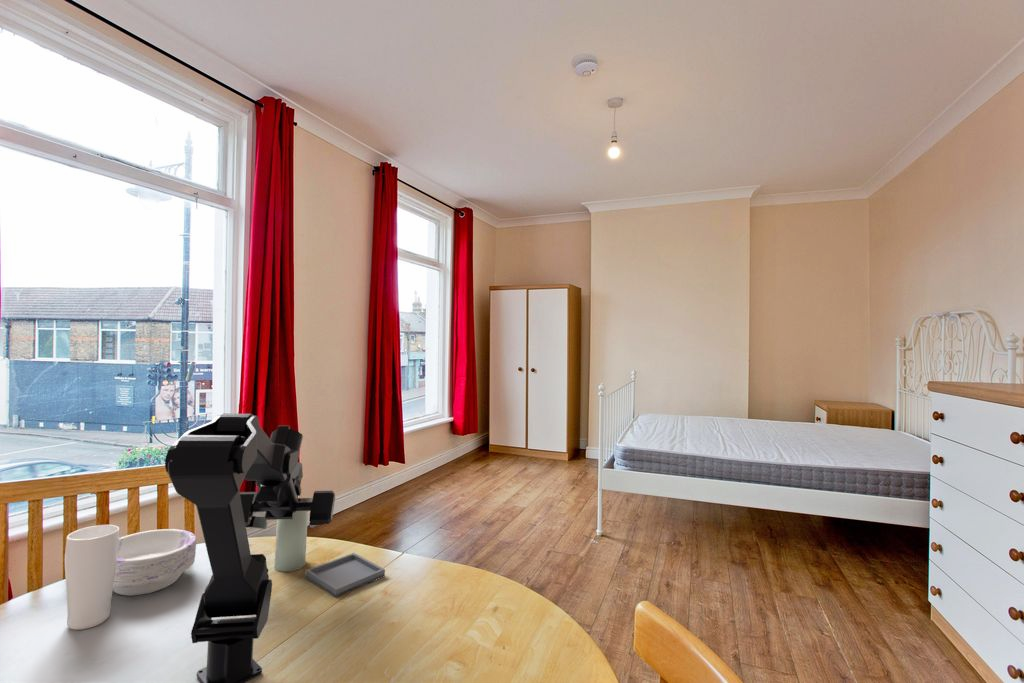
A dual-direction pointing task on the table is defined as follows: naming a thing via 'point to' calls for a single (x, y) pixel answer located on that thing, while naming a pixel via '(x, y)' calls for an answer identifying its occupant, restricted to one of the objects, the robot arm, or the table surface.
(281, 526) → the domed cap cylinder
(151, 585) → the paper bowls
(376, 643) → the table surface
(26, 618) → the table surface
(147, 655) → the table surface
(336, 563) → the tray
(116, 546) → the white vase
